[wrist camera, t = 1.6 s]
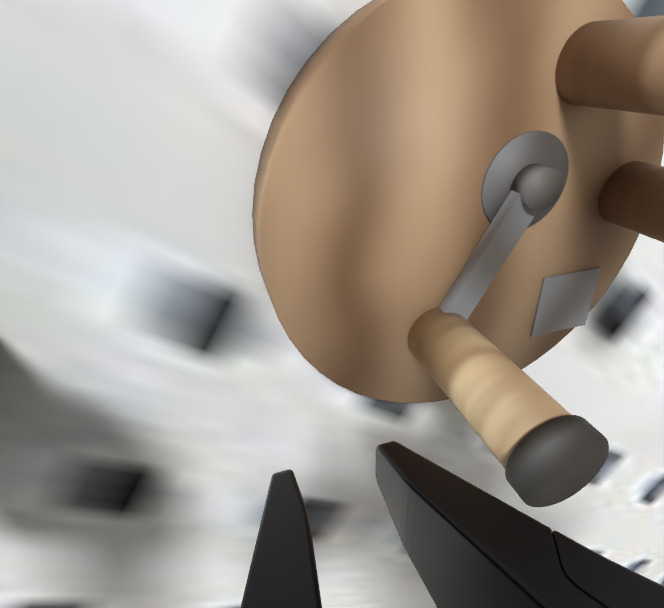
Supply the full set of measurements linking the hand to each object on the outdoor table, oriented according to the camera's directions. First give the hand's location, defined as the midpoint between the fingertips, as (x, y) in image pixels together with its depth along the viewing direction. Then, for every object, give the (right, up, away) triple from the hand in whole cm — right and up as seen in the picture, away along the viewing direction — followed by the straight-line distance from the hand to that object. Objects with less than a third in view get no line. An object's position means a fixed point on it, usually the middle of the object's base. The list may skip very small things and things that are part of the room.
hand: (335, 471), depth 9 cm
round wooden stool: (+6, +8, +13) cm, 17 cm away
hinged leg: (+6, +5, +12) cm, 14 cm away
